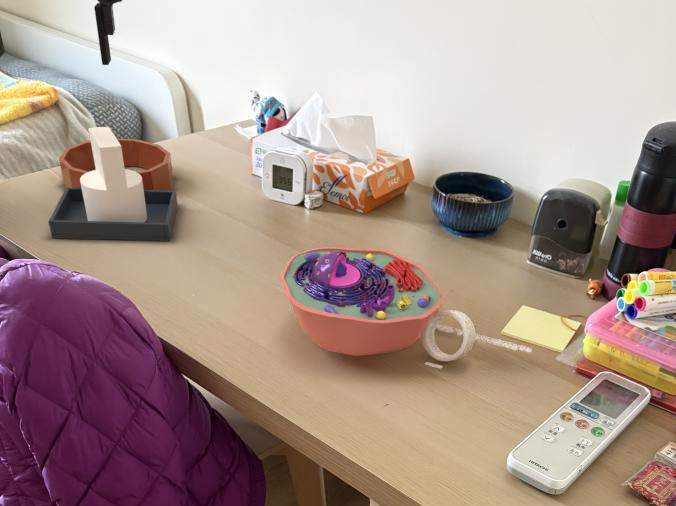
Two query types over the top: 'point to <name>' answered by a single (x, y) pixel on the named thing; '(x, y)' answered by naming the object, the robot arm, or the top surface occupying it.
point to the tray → (75, 225)
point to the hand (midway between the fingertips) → (53, 59)
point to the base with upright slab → (111, 183)
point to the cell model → (360, 299)
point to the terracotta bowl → (134, 154)
